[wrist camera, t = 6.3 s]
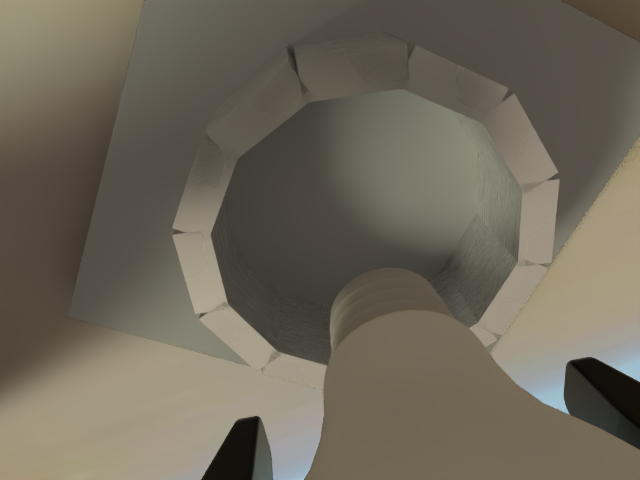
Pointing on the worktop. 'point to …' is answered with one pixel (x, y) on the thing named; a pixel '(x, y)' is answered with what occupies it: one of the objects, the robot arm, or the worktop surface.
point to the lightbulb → (439, 400)
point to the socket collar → (449, 282)
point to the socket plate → (337, 147)
